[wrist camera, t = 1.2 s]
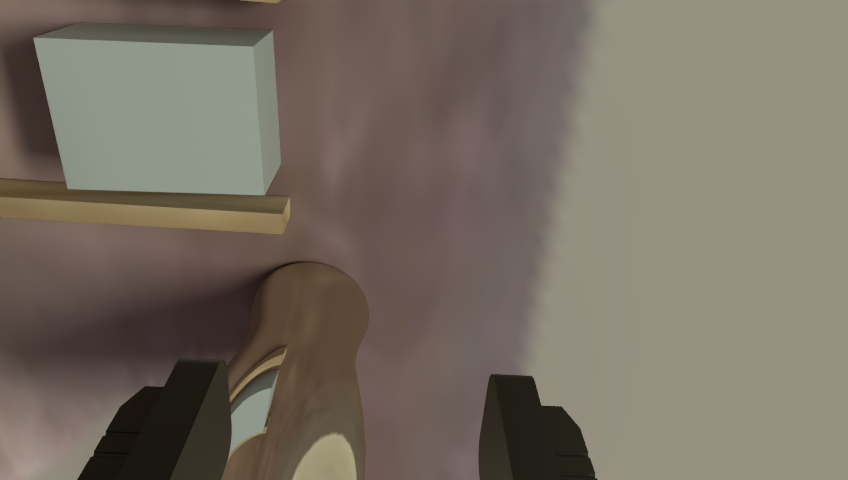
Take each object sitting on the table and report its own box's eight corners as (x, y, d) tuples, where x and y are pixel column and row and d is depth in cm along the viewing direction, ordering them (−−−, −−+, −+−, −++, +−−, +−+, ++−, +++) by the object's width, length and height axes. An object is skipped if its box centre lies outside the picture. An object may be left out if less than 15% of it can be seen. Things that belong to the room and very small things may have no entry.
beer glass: (242, 356, 35) (137, 633, 21) (246, 245, 32) (126, 486, 18) (369, 371, 35) (345, 648, 22) (385, 262, 32) (368, 508, 19)
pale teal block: (82, 21, 27) (33, 37, 23) (273, 29, 27) (252, 46, 24) (109, 156, 30) (67, 189, 26) (281, 162, 30) (264, 195, 26)
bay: (-142, -64, 25) (-338, -57, 18) (285, -29, 26) (243, -10, 19) (-66, 194, 30) (-200, 272, 23) (290, 215, 31) (257, 297, 24)
